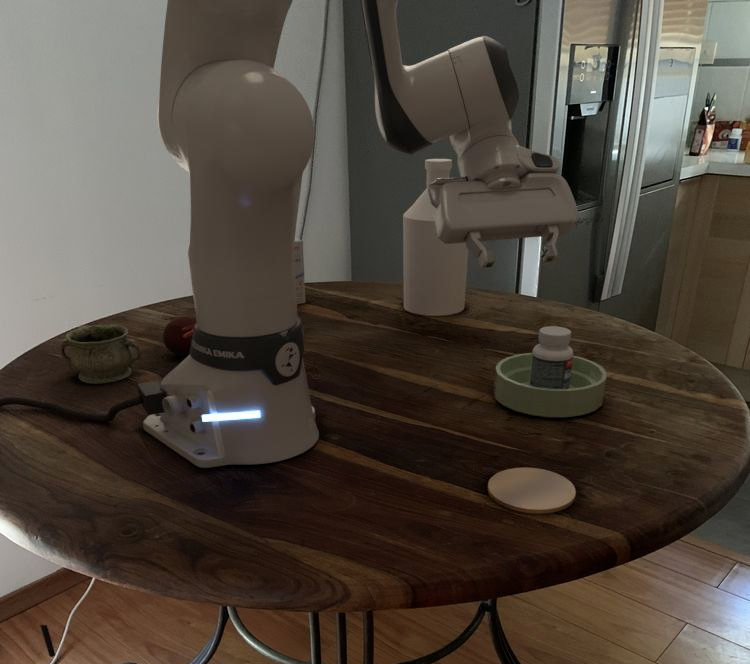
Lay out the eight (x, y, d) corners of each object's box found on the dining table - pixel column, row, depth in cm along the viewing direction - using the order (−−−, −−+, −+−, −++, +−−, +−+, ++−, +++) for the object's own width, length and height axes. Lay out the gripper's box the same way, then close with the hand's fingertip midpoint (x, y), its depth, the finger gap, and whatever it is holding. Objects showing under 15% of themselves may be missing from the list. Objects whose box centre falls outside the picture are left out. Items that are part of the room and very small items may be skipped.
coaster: (471, 495, 76) (471, 491, 76) (513, 463, 82) (513, 459, 82) (551, 523, 71) (551, 519, 71) (589, 487, 77) (590, 483, 77)
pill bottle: (568, 404, 95) (577, 338, 91) (527, 402, 96) (534, 336, 92) (567, 389, 100) (575, 325, 95) (528, 387, 101) (534, 323, 96)
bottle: (479, 308, 136) (488, 160, 123) (428, 319, 130) (433, 165, 117) (438, 295, 144) (443, 155, 132) (389, 305, 138) (389, 159, 126)
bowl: (474, 402, 97) (475, 374, 95) (524, 372, 107) (527, 345, 105) (574, 429, 90) (578, 399, 88) (619, 394, 99) (624, 366, 97)
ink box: (264, 309, 136) (258, 243, 131) (255, 303, 140) (249, 238, 134) (306, 303, 140) (303, 238, 134) (296, 297, 144) (292, 234, 138)
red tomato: (198, 344, 119) (193, 307, 116) (229, 357, 114) (224, 318, 111) (156, 354, 115) (150, 316, 112) (186, 369, 109) (181, 329, 106)
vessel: (53, 385, 104) (42, 342, 101) (77, 364, 112) (67, 323, 109) (136, 385, 104) (128, 342, 100) (154, 364, 111) (148, 323, 108)
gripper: (430, 163, 97) (456, 254, 94) (567, 157, 102) (596, 243, 99) (418, 195, 103) (442, 281, 100) (548, 187, 108) (574, 269, 105)
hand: (519, 262), depth 100 cm, fingers open, 8 cm apart
